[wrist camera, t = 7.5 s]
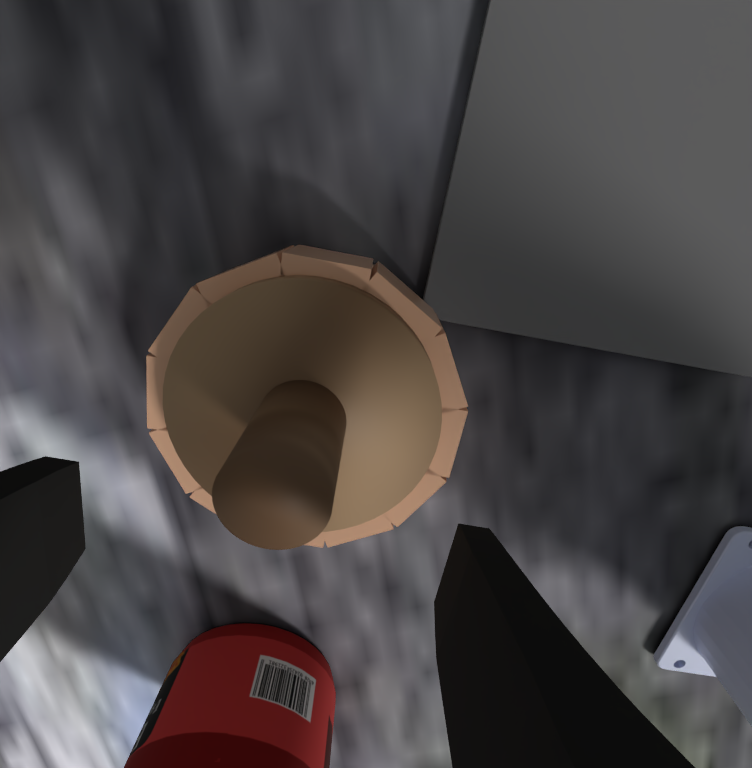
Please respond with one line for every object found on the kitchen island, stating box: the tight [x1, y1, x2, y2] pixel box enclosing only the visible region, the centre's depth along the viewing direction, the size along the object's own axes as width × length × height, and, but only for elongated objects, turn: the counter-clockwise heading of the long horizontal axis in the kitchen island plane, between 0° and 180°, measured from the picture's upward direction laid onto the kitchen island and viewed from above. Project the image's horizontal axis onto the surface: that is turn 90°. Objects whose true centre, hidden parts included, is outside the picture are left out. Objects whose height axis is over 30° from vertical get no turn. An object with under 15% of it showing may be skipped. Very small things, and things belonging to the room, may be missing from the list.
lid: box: [163, 275, 442, 550], centre depth 11 cm, size 8×8×4 cm
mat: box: [423, 0, 752, 377], centre depth 13 cm, size 12×12×1 cm
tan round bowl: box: [146, 245, 468, 548], centre depth 15 cm, size 9×9×3 cm
